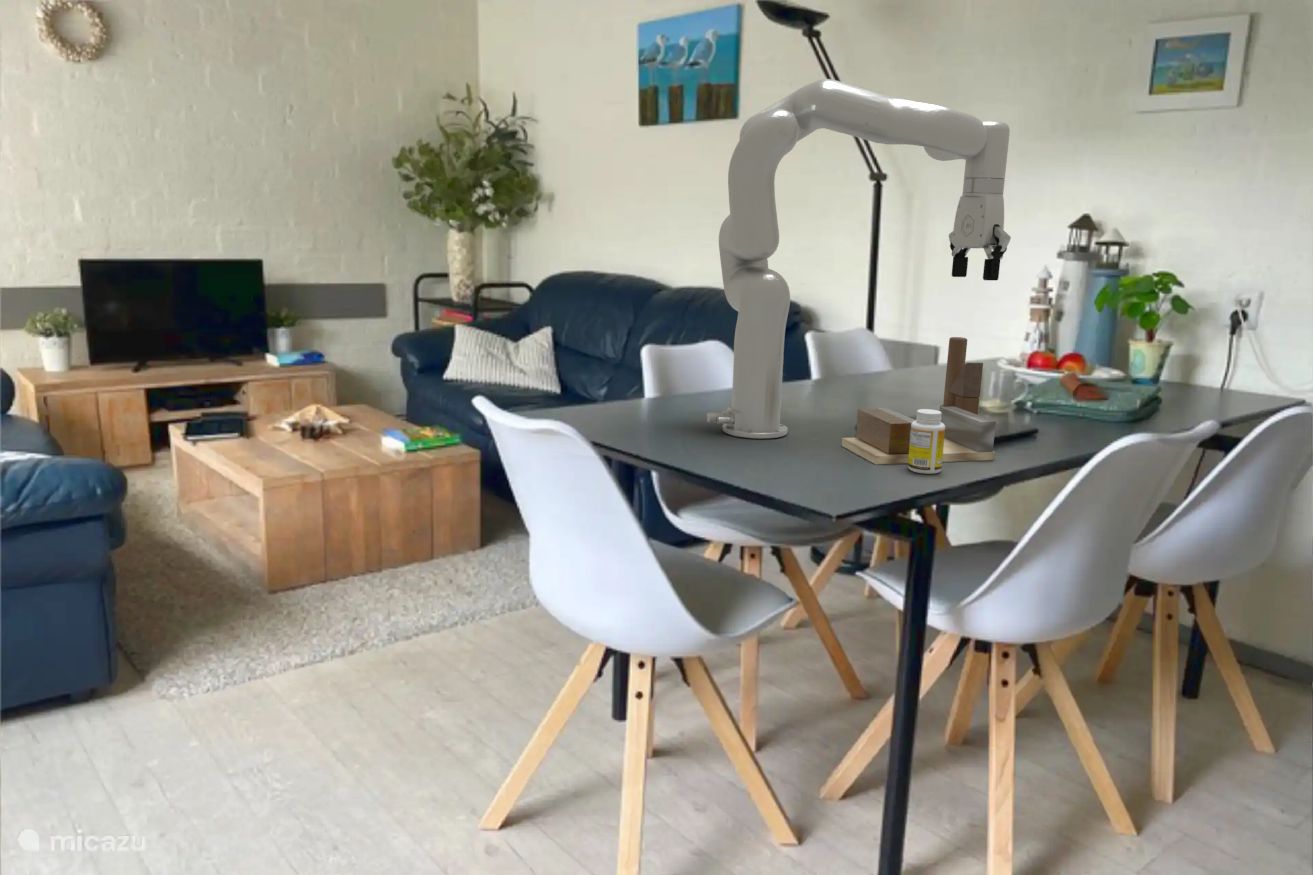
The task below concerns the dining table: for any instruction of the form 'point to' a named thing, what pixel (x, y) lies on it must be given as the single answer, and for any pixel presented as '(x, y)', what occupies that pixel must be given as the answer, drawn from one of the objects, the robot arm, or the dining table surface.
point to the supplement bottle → (926, 442)
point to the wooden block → (962, 378)
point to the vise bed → (961, 441)
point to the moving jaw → (884, 429)
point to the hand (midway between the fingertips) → (974, 278)
